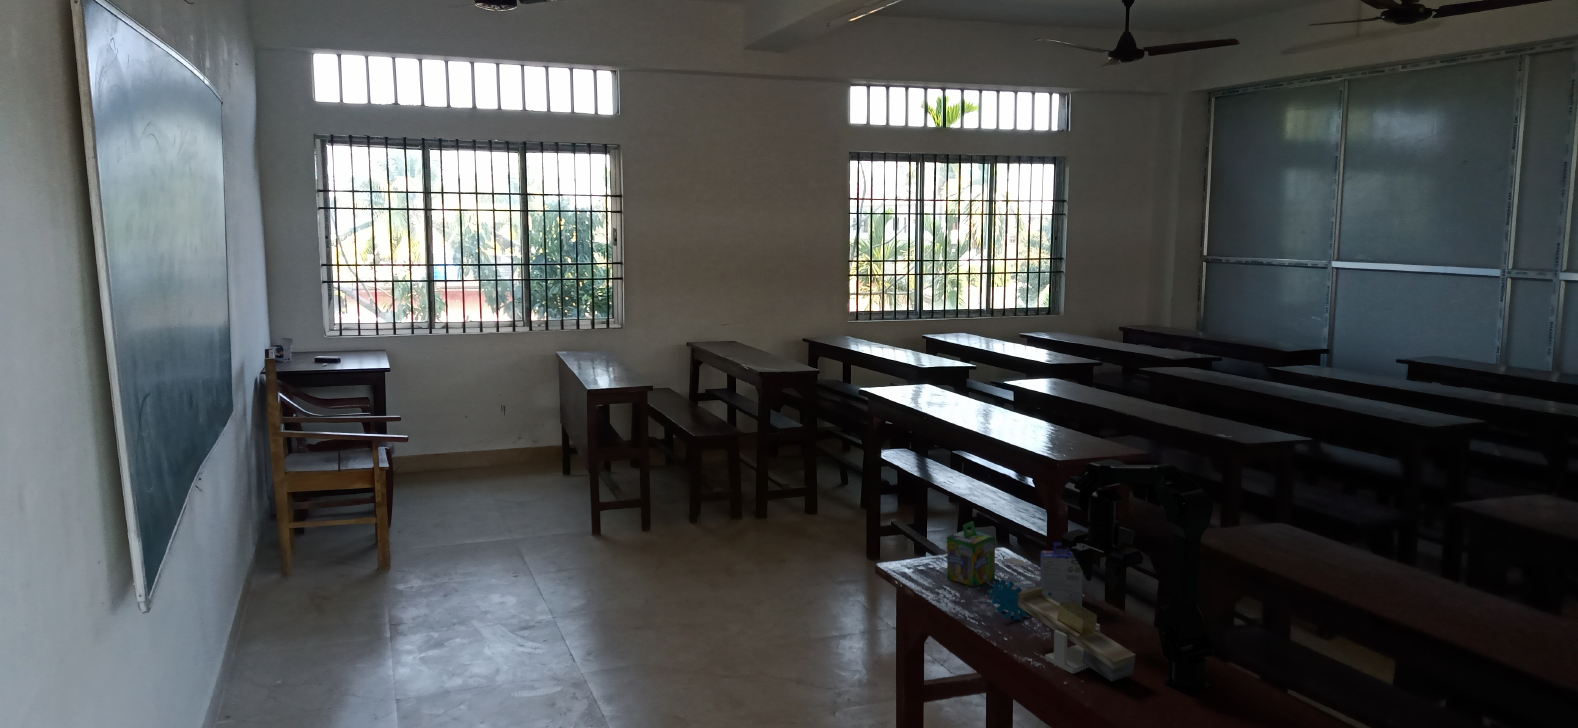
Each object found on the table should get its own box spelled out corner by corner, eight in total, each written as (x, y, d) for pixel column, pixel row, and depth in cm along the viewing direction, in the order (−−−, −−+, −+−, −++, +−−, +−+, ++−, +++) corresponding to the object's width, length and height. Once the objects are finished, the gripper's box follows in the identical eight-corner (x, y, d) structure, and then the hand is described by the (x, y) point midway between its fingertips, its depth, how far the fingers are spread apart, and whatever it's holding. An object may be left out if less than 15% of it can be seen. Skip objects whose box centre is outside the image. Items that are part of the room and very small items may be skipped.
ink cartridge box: (1081, 598, 250) (1082, 541, 248) (1083, 607, 244) (1084, 549, 242) (1039, 596, 252) (1040, 540, 250) (1040, 605, 246) (1041, 547, 244)
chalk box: (974, 588, 259) (974, 531, 256) (945, 579, 265) (945, 524, 263) (996, 578, 265) (996, 523, 262) (968, 569, 271) (968, 515, 269)
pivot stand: (1108, 661, 216) (1109, 628, 215) (1072, 673, 211) (1073, 640, 210) (1080, 647, 223) (1081, 615, 222) (1045, 659, 218) (1045, 626, 217)
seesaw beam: (1136, 672, 208) (1140, 644, 206) (1108, 682, 204) (1111, 653, 202) (1040, 611, 231) (1042, 585, 230) (1012, 619, 227) (1015, 592, 226)
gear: (1002, 618, 235) (986, 579, 241) (989, 630, 239) (974, 590, 245) (1040, 615, 240) (1024, 577, 246) (1026, 626, 244) (1011, 588, 250)
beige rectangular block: (1094, 632, 214) (1097, 615, 213) (1081, 636, 212) (1083, 619, 211) (1070, 617, 220) (1072, 600, 219) (1056, 621, 218) (1058, 604, 217)
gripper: (1161, 520, 220) (1159, 590, 222) (1095, 500, 236) (1094, 565, 238) (1124, 530, 215) (1123, 601, 217) (1060, 509, 231) (1059, 575, 233)
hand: (1100, 584), depth 226 cm, fingers open, 6 cm apart
